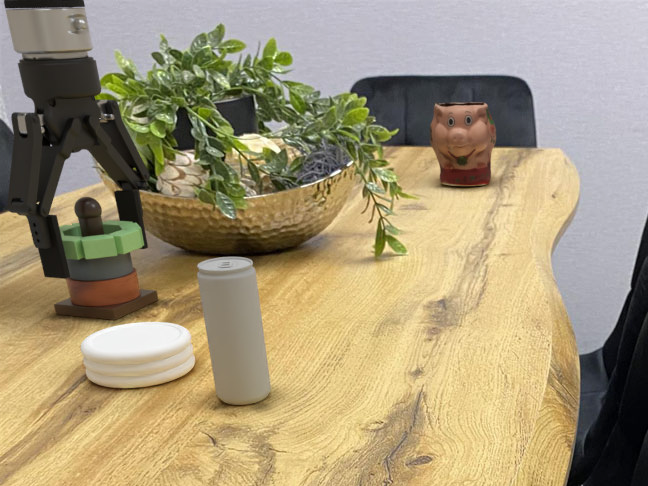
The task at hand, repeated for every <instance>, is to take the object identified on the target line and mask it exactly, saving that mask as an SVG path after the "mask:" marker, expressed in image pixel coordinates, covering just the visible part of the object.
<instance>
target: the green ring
mask: <svg viewBox="0 0 648 486" xmlns="http://www.w3.org/2000/svg"><path fill="white" fill-rule="evenodd" d="M102 223H103V228H104V233H105V235H97V236H87V237H82V234H81V230H80V225H79V222H73V223H71V224H63V225H59V228H60V233H61V237H62V242H63V246H64V251H65V255H66V259H76V260H79V259H81V258H84V257H85V259H94V258H103V257H111V256H117V254H126V253H129V252H130V253H131V252H134V251H137V250H140V249H139V248H142V246H144V241H143V236H142V230H141V228H140V226H139V225H138V224H137V223H133V222H129V221H120V220H113V219H108V220H106V221H103V220H102Z"/></svg>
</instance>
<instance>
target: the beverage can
mask: <svg viewBox="0 0 648 486" xmlns="http://www.w3.org/2000/svg"><path fill="white" fill-rule="evenodd" d="M253 265H254V262H253V260H252V259H250V258H247V257H242V256H222V257H215V258H209V259H206V260H202V261H200V262H198V264H197V270H198V271H197V273H196V277H197V283H198V289H199V296H200V301H201V308H202V313H203V319H204V326H205V333H206V339H207V345H208V351H209V357H210V364H211V369H212V370H211V371H212V376H213V382H214V388H215V393H216V394H215V395H216V397H218V399H220V400H221V401H222V402H223V403H225V404H227V405H232V406H233V405H234V406H245V405H252V404H255V403H259V402H262V401H263V400H265V399H266V398H267V397H268V396H269V394H270V392H271V390H272V385H271V378H270V369H269V362H268V354H267V348H266V340H265V332H264V326H263V317H262V316H263V315H262V310H261V309H262V308H261V300H260V294H259V287H258V286H259V285H258V279H257V278H258V277H257V271H256V268H255V267H254V266H253Z"/></svg>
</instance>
